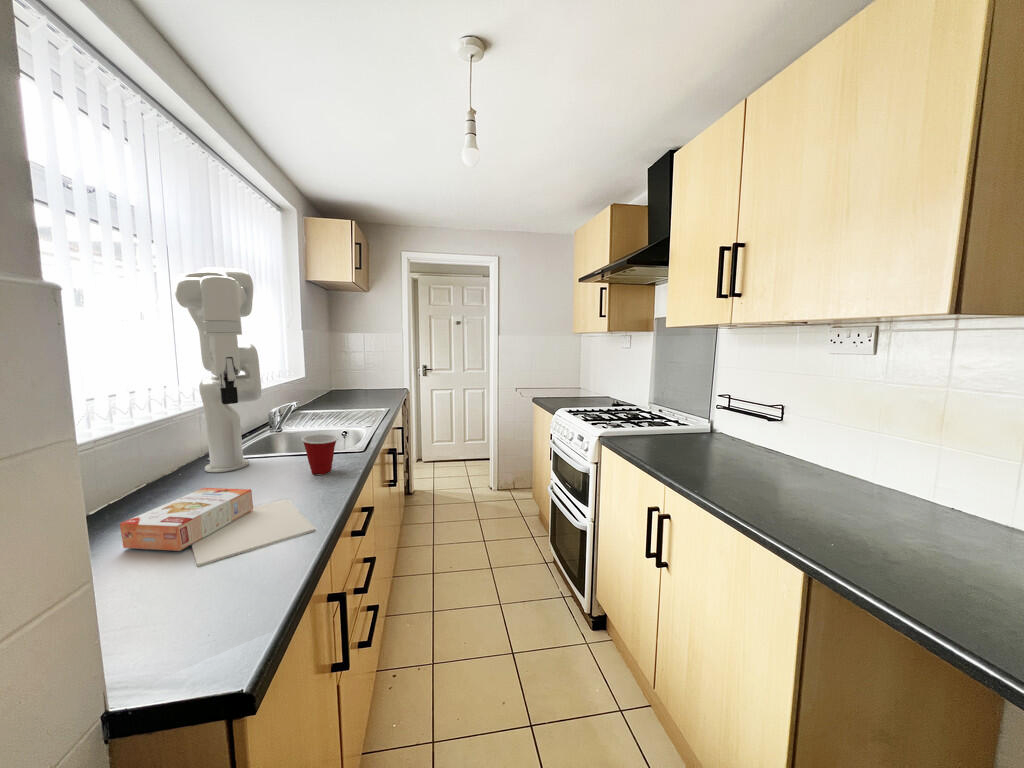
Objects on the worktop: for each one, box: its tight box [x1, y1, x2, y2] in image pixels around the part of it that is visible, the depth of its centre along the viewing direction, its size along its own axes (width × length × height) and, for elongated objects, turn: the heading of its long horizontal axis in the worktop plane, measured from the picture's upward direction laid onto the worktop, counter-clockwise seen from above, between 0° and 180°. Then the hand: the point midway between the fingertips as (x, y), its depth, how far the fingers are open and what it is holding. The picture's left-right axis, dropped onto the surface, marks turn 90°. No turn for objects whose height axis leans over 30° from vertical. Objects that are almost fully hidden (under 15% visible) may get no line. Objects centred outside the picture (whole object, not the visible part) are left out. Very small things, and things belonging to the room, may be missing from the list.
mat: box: [190, 498, 316, 567], centre depth 98 cm, size 24×22×1 cm
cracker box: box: [119, 487, 254, 552], centre depth 97 cm, size 14×6×21 cm
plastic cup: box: [301, 433, 339, 475], centre depth 137 cm, size 11×11×12 cm
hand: (230, 403), depth 103 cm, fingers closed
